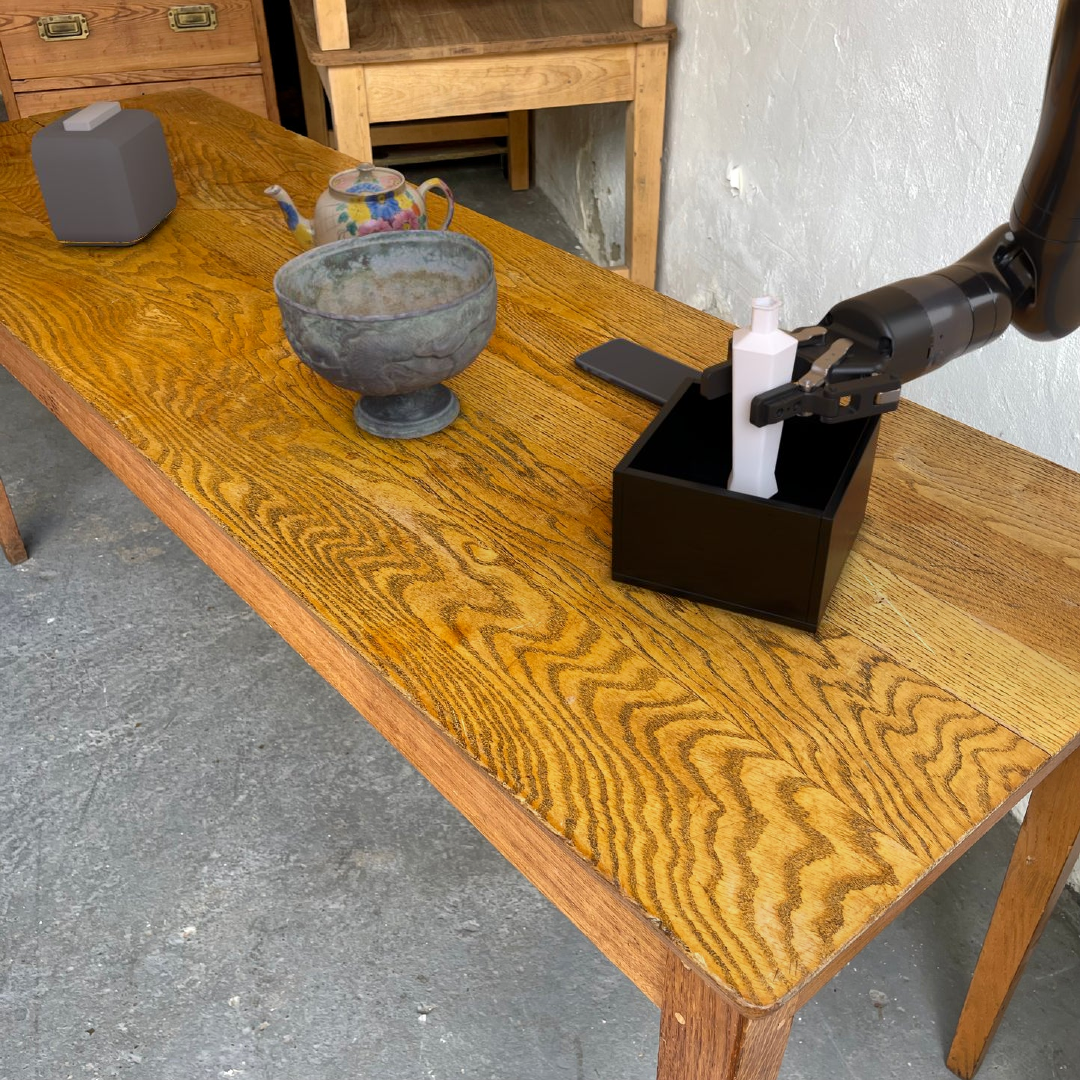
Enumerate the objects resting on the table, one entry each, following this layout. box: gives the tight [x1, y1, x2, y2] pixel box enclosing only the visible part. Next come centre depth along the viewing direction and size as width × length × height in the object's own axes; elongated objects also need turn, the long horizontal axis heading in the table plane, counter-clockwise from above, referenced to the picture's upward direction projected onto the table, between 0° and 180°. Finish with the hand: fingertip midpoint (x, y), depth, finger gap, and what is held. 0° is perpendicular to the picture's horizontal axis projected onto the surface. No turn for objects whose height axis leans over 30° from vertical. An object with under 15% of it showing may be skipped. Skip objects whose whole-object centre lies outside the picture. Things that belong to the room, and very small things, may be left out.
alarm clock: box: [30, 101, 178, 247], centre depth 145 cm, size 16×11×16 cm
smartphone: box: [573, 337, 703, 407], centre depth 110 cm, size 7×1×15 cm
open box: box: [610, 377, 883, 635], centre depth 83 cm, size 16×16×10 cm
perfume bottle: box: [727, 295, 798, 499], centre depth 79 cm, size 5×4×15 cm
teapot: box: [263, 161, 455, 252], centre depth 131 cm, size 20×14×13 cm
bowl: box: [272, 229, 498, 440], centre depth 101 cm, size 20×19×15 cm
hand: (729, 399), depth 77 cm, fingers closed on perfume bottle, 4 cm apart
